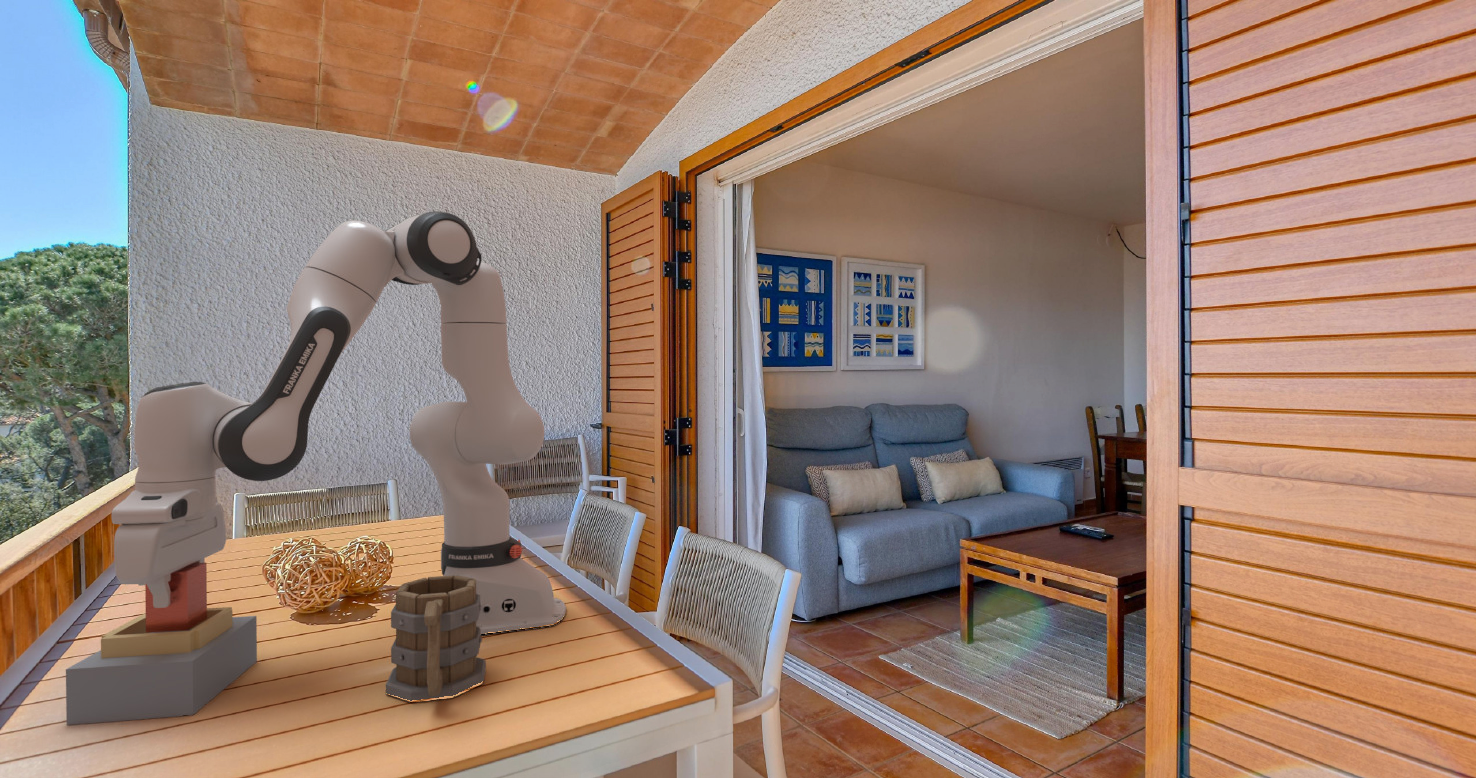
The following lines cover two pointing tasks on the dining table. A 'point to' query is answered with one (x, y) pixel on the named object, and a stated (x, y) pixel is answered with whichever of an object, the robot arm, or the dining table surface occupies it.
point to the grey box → (160, 669)
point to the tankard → (436, 638)
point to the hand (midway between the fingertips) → (177, 599)
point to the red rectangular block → (180, 601)
